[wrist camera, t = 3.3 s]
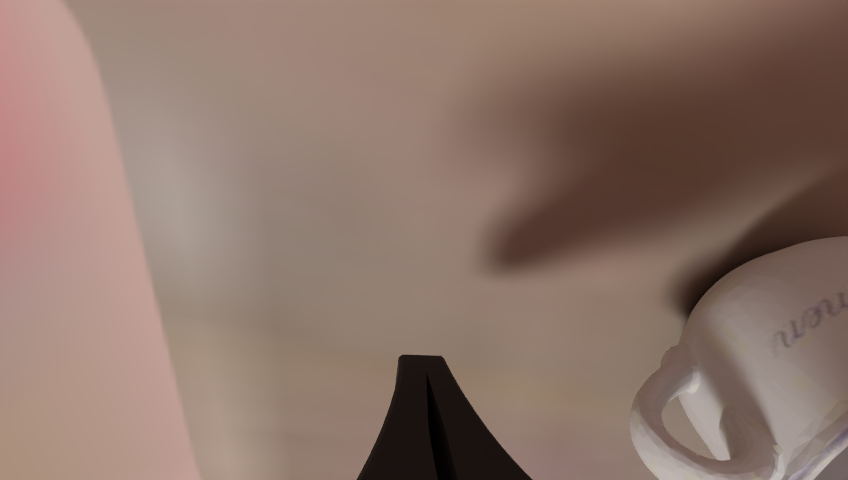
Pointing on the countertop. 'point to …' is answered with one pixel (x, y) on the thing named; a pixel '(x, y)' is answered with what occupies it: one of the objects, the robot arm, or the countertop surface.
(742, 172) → the countertop surface
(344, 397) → the countertop surface
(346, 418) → the countertop surface
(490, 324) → the countertop surface
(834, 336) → the teacup
